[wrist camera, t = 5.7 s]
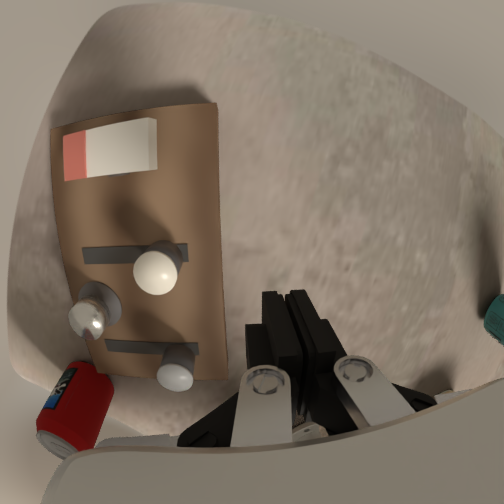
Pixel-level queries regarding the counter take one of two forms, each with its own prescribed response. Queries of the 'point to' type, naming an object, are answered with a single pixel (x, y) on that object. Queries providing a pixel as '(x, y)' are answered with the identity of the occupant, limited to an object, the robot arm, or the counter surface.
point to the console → (142, 236)
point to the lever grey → (176, 368)
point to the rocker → (111, 149)
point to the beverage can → (74, 410)
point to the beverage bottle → (496, 319)
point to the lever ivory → (158, 267)
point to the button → (89, 317)
